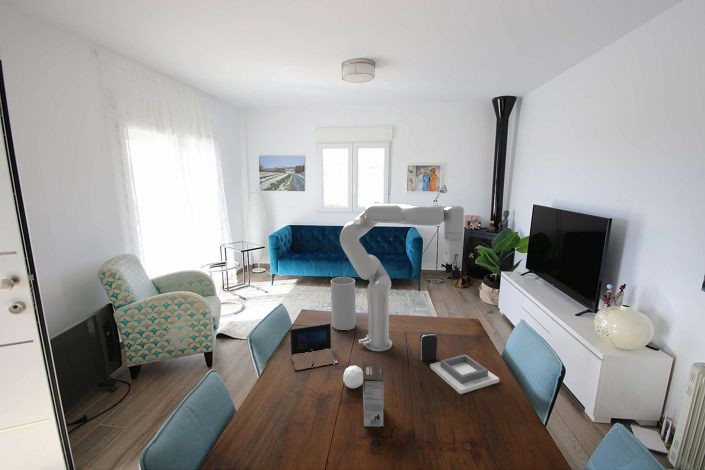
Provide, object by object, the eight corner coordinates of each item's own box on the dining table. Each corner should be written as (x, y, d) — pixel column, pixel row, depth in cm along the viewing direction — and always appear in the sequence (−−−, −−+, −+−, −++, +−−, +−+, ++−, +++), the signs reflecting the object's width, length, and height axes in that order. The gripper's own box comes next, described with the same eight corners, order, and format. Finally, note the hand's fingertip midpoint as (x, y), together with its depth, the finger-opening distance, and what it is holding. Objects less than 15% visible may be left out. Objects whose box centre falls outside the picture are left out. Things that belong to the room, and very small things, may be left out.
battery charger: (433, 355, 139) (434, 330, 137) (437, 360, 135) (438, 335, 133) (418, 357, 138) (418, 332, 136) (421, 362, 134) (422, 336, 132)
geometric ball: (349, 395, 118) (335, 380, 116) (355, 376, 124) (343, 362, 123) (364, 391, 114) (350, 377, 112) (370, 372, 120) (357, 358, 118)
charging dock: (460, 394, 113) (460, 383, 113) (430, 367, 130) (430, 358, 129) (499, 382, 120) (499, 372, 119) (465, 358, 136) (466, 349, 136)
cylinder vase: (360, 325, 169) (360, 280, 165) (344, 334, 160) (342, 286, 156) (343, 319, 178) (342, 275, 174) (327, 326, 169) (325, 281, 165)
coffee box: (363, 406, 108) (362, 362, 105) (382, 406, 108) (382, 362, 105) (363, 426, 99) (362, 378, 96) (384, 427, 99) (384, 379, 96)
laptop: (294, 372, 128) (293, 342, 126) (291, 357, 140) (289, 328, 138) (338, 364, 134) (337, 335, 131) (331, 350, 145) (330, 323, 143)
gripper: (439, 232, 141) (438, 270, 144) (450, 239, 124) (448, 282, 127) (456, 232, 141) (455, 270, 144) (469, 239, 124) (468, 281, 127)
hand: (452, 275), depth 135 cm, fingers open, 9 cm apart
